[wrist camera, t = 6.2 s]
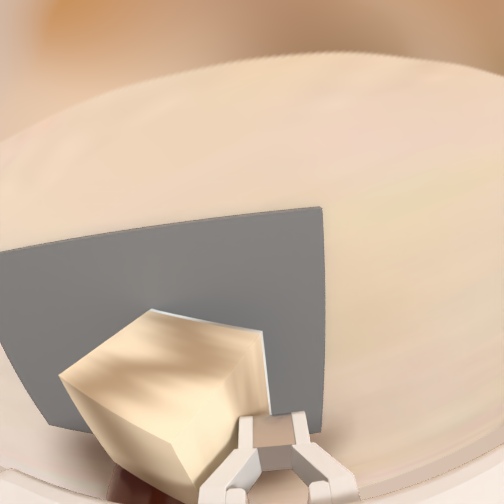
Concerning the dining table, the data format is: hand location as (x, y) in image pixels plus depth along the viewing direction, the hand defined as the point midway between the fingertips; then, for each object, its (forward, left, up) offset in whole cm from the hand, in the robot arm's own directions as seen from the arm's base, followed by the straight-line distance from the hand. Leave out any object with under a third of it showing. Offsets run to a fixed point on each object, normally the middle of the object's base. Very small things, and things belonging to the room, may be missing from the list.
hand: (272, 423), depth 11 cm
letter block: (+3, 0, -4) cm, 5 cm away
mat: (+8, 0, -6) cm, 10 cm away
